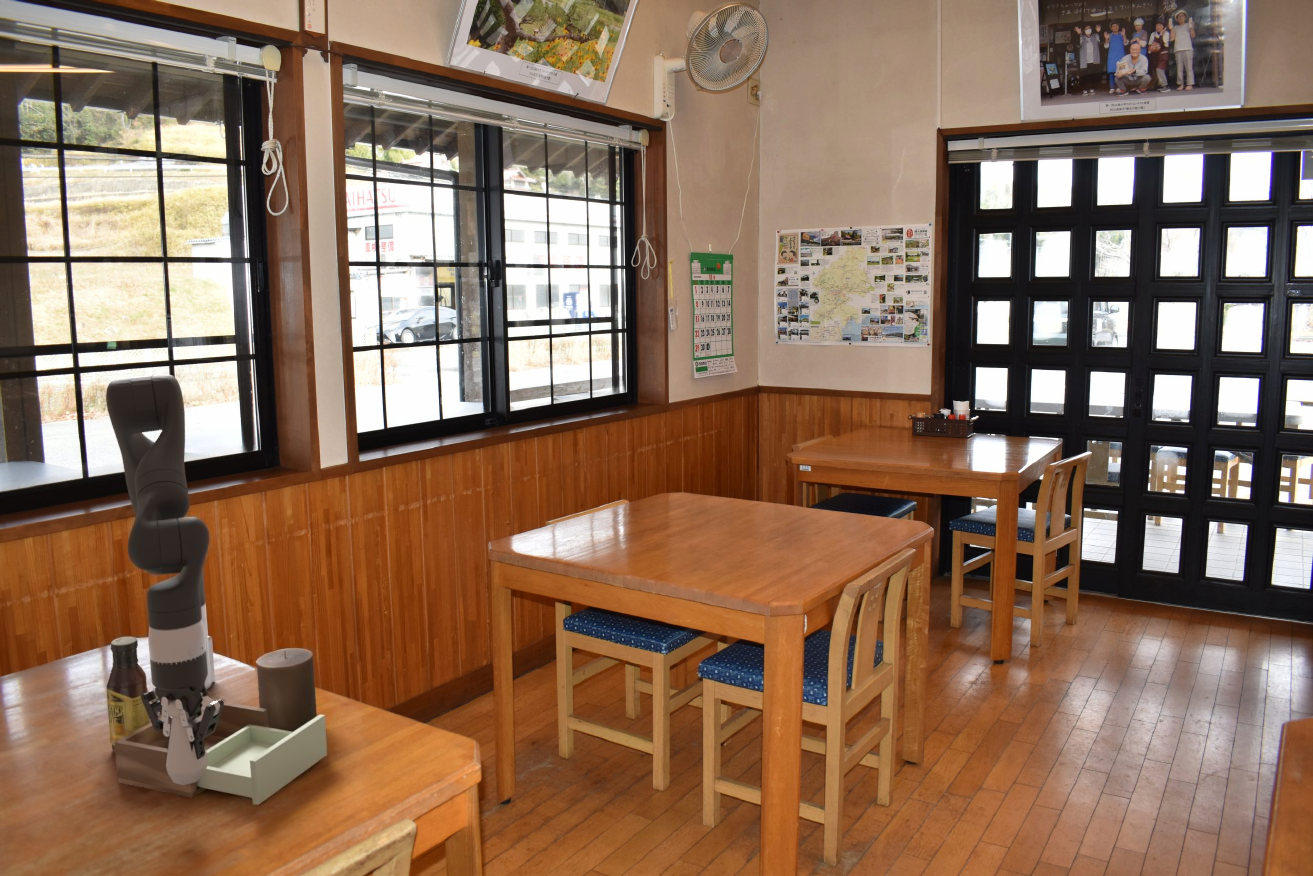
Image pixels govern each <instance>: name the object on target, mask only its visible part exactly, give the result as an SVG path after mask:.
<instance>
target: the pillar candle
mask: <svg viewBox="0 0 1313 876" xmlns="http://www.w3.org/2000/svg"><path fill="white" fill-rule="evenodd" d="M255 663H256V672H257V673H256V675H257V686H258V687H257V689H258V705H259V707H258V708H263V709H267V711H268V727H269V728H274V729H280V730H285V731H291V732H294V731H295V730H297V729H298V728H300V727H301V726H303V725H305V724H306V723H308V722H309V721H311V720H312V719H314V718H315V717H317V716H318V714H317V713H318V712H317V710H318V709H317V698H316V687H315V686H316V683H315V680H316V679H315V668H314V653H313V652H312V651H311V650H309V649H307V648H306V649H305V648H298V647H294V648H293V647H291V648H282V649H278V650H275V651H270V652H267V653H264V654H263V655H261V656H259V657H258V658H257V660H256V661H255Z"/></svg>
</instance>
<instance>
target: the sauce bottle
mask: <svg viewBox="0 0 1313 876" xmlns="http://www.w3.org/2000/svg"><path fill="white" fill-rule="evenodd" d="M138 646H139V644H138V638H137V637H135V636H122V637H117V638H115V639H113V640H112V641H111V643H110V650H111V652H112V667H111V670H110V673H109V675H108V676H109V677H108V681H107V684H106V686H105V687H106V688H105V689H106V701H107V713H108V715H107V716H108V728H109V741H110V743H111V744H110V745H111V750H112V751H113V752H114V753H115V743H114V742H116V741H118V740H120V739H121V738H123V737H125V736H127V735H129V734H131V733H133V732H135V731H136V730H138V729H140V728H142V727H144V726H146V725H148V724H149V723H151V721H150V718H149V716H148V714H147V711H146V709H145V707H144V704H143V702H142V700H141V695H142V694H144V693H146V692H148V691H149V690H148V685H147V675H146V673H145V670H144V669H143V668H142V666H140V664H139V658H138Z"/></svg>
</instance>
